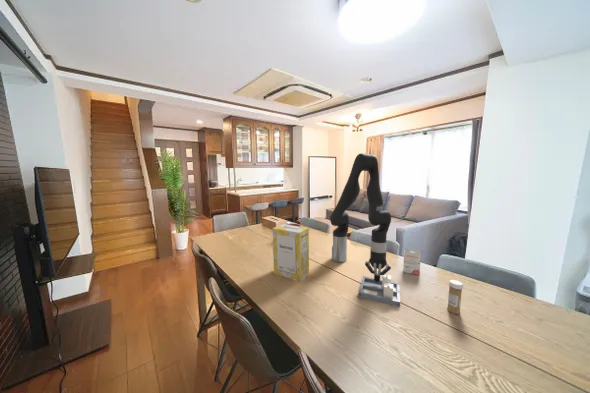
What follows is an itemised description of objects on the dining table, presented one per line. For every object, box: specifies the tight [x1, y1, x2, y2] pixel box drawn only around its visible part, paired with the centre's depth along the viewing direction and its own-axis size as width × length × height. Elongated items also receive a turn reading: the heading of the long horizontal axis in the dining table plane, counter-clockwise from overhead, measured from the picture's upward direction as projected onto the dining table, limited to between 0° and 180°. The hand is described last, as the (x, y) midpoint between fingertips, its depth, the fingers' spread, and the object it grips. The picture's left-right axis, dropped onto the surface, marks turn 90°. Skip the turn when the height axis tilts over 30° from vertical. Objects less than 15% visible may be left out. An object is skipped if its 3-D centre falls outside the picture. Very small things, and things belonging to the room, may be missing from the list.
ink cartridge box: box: [402, 248, 422, 276], centre depth 126 cm, size 9×5×15 cm, turn 62°
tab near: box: [383, 283, 393, 299], centre depth 100 cm, size 4×4×6 cm
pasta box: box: [272, 223, 310, 282], centre depth 125 cm, size 18×10×28 cm, turn 60°
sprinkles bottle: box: [446, 279, 464, 315], centre depth 91 cm, size 5×5×14 cm
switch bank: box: [357, 276, 401, 308], centre depth 106 cm, size 18×17×2 cm
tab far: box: [381, 273, 392, 288], centre depth 108 cm, size 4×4×6 cm
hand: (377, 281), depth 110 cm, fingers closed
